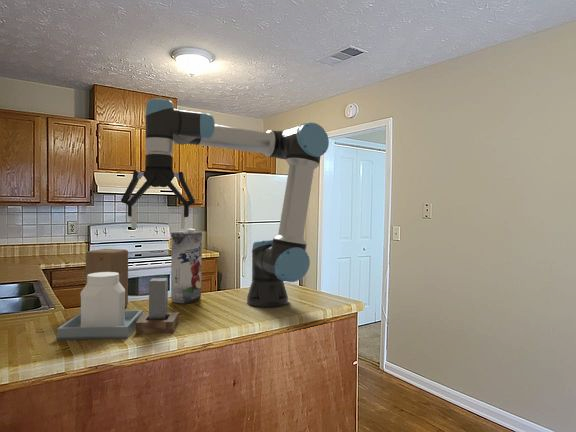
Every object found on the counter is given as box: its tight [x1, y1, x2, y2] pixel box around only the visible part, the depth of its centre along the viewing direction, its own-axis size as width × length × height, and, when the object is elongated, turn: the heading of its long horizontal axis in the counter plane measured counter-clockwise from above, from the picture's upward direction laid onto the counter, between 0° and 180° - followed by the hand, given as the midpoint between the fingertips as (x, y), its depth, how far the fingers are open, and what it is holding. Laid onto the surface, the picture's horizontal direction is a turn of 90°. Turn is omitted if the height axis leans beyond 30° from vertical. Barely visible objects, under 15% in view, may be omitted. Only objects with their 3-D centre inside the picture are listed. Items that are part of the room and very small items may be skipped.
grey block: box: [148, 277, 169, 320], centre depth 115 cm, size 4×4×14 cm
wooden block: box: [85, 248, 129, 307], centre depth 135 cm, size 10×10×20 cm
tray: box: [56, 309, 144, 341], centre depth 114 cm, size 18×18×3 cm
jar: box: [80, 272, 126, 327], centre depth 114 cm, size 12×10×15 cm
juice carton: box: [170, 228, 203, 305], centre depth 149 cm, size 9×10×27 cm
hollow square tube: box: [135, 312, 179, 334], centre depth 116 cm, size 10×10×3 cm
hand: (158, 228), depth 115 cm, fingers open, 13 cm apart
